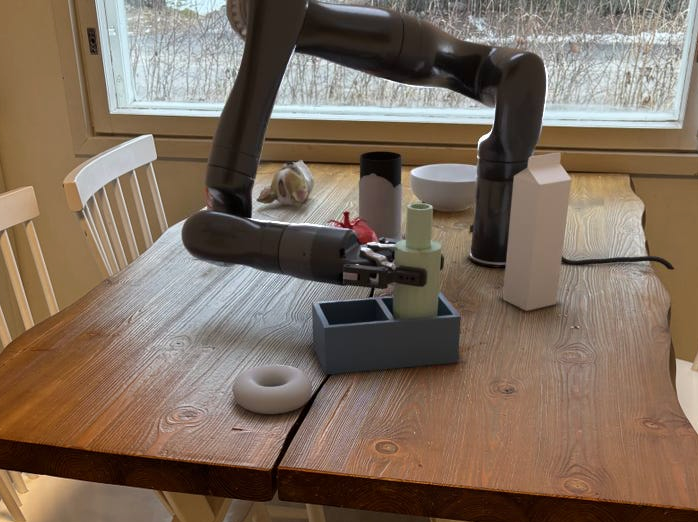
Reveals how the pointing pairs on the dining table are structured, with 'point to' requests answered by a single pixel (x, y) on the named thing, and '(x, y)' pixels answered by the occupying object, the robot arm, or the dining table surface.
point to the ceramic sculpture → (289, 185)
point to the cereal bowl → (445, 186)
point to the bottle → (418, 265)
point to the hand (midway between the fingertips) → (434, 270)
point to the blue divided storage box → (382, 335)
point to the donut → (272, 389)
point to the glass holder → (381, 193)
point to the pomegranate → (357, 228)
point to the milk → (536, 233)
